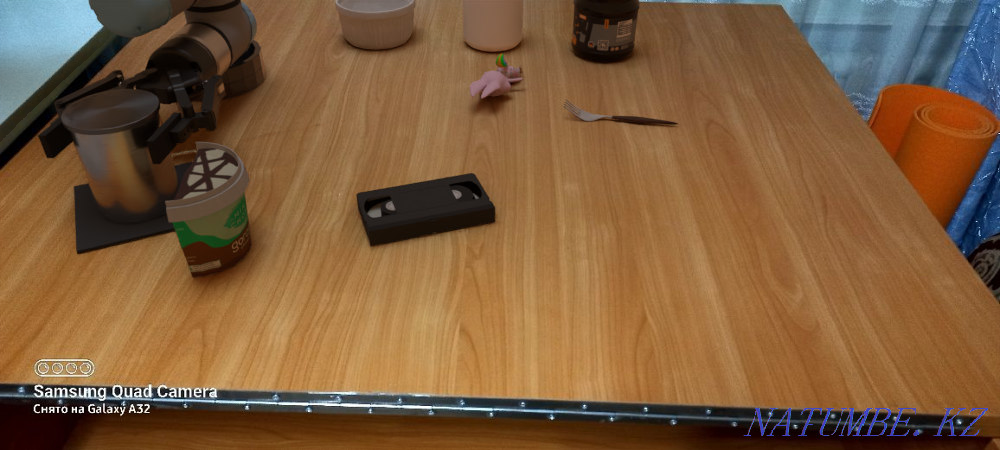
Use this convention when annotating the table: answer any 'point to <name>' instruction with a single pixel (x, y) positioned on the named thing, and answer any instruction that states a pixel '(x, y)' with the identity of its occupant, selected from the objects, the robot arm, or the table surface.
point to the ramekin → (376, 22)
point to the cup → (492, 24)
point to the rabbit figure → (497, 79)
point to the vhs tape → (424, 208)
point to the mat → (104, 233)
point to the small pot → (122, 154)
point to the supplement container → (604, 29)
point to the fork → (592, 117)
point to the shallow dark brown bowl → (244, 73)
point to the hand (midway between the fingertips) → (99, 150)
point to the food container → (212, 211)
